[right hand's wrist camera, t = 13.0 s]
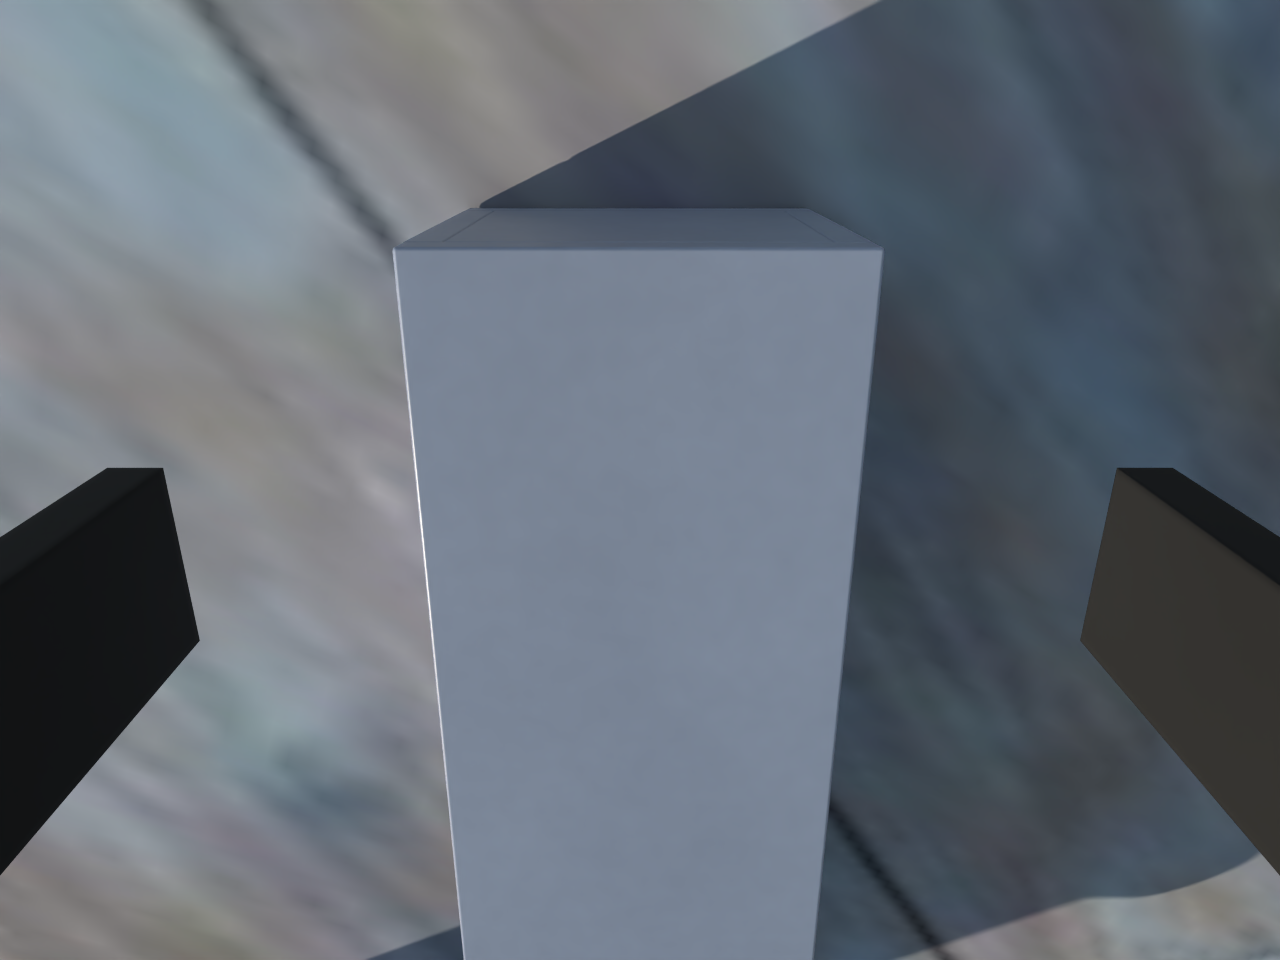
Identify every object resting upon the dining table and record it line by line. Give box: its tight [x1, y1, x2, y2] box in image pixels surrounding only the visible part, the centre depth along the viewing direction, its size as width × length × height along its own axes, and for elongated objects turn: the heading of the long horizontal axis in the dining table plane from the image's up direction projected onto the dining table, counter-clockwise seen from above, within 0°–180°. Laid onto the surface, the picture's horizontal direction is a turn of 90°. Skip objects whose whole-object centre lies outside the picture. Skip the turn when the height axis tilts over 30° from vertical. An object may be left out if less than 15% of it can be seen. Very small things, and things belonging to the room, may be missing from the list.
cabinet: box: [393, 208, 885, 960], centre depth 25 cm, size 20×10×8 cm, turn 0°
